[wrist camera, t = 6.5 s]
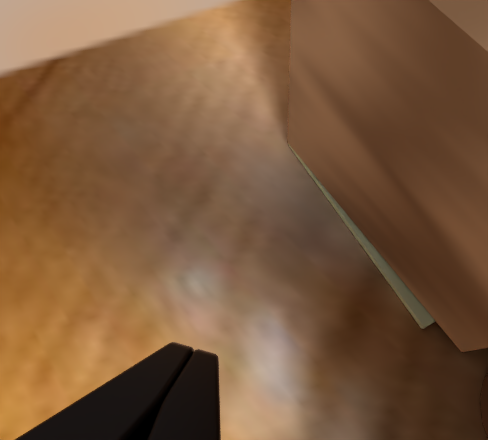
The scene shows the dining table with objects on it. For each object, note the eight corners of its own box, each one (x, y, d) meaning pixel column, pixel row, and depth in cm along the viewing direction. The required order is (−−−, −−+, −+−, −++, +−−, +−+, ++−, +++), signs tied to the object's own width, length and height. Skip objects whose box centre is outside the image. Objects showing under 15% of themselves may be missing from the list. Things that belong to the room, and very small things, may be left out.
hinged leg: (530, 317, 13) (946, 210, 5) (470, 363, 13) (810, 330, 5) (338, 109, 17) (399, -173, 8) (287, 142, 16) (295, -116, 8)
